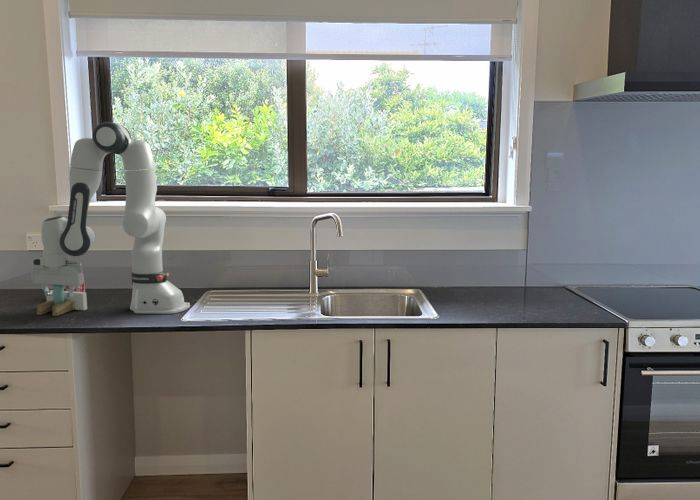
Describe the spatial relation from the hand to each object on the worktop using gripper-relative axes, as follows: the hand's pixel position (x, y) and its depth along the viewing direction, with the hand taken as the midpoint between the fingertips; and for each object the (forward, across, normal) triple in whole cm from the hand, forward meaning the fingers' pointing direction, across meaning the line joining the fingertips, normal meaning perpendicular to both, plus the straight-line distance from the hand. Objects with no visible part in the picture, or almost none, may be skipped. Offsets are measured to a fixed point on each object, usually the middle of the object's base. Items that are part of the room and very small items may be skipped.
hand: (59, 296), depth 231 cm
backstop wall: (+6, 0, -4) cm, 7 cm away
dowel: (+6, 0, 0) cm, 6 cm away
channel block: (+6, 0, +3) cm, 6 cm away
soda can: (+6, +8, -20) cm, 23 cm away
